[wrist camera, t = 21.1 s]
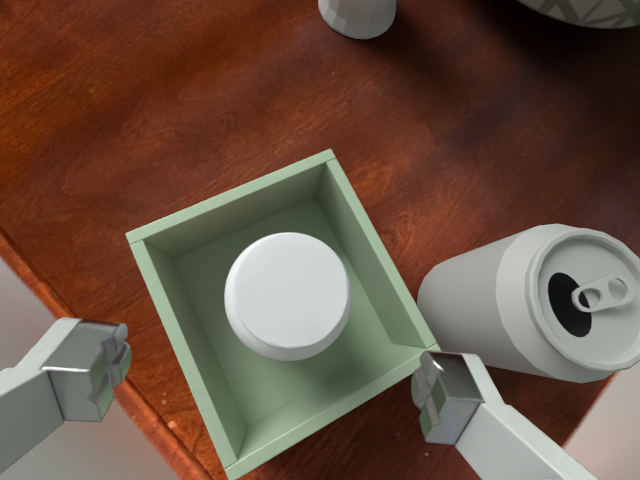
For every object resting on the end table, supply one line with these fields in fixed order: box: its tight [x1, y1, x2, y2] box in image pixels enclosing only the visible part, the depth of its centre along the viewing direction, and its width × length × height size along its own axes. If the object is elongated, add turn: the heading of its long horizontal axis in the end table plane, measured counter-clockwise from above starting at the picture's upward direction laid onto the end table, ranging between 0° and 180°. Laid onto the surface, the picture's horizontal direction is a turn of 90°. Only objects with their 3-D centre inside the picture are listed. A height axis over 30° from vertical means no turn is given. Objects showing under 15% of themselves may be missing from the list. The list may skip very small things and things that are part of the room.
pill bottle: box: [224, 232, 352, 361], centre depth 19 cm, size 6×6×11 cm
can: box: [417, 224, 640, 383], centre depth 21 cm, size 8×8×12 cm
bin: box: [125, 149, 441, 480], centre depth 22 cm, size 13×12×7 cm
